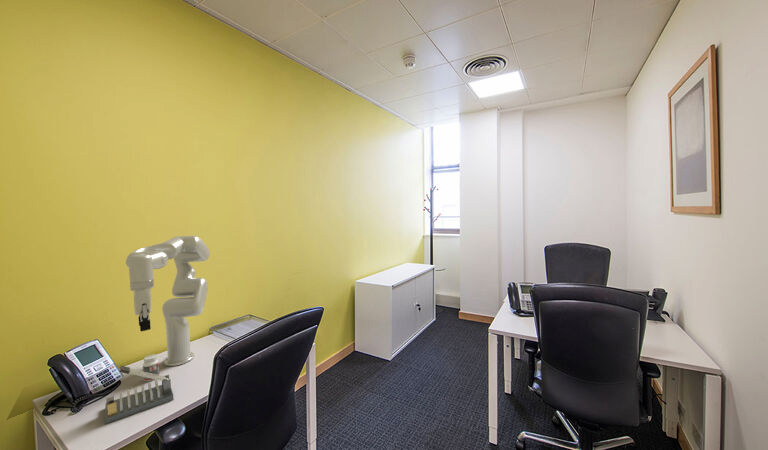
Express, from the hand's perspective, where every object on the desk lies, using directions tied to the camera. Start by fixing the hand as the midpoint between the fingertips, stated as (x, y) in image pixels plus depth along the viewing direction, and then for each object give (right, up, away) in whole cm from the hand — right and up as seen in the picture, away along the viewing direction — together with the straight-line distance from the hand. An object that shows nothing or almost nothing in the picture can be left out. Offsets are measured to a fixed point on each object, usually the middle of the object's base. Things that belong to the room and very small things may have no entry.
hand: (144, 327), depth 123 cm
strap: (+4, -17, -5) cm, 19 cm away
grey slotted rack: (+3, -28, -6) cm, 29 cm away
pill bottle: (-7, -27, +12) cm, 31 cm away
